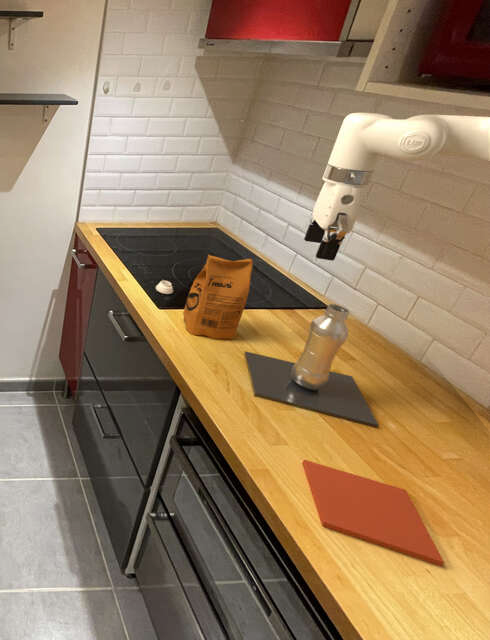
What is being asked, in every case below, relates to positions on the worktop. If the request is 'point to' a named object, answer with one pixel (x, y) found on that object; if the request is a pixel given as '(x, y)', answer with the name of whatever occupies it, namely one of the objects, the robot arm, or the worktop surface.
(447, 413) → the worktop surface
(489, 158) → the robot arm
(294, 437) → the worktop surface
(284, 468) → the worktop surface
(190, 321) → the coffee package
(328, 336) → the plastic bottle
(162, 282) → the white ridged tapered disc
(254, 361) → the slate board
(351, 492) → the terracotta tile
